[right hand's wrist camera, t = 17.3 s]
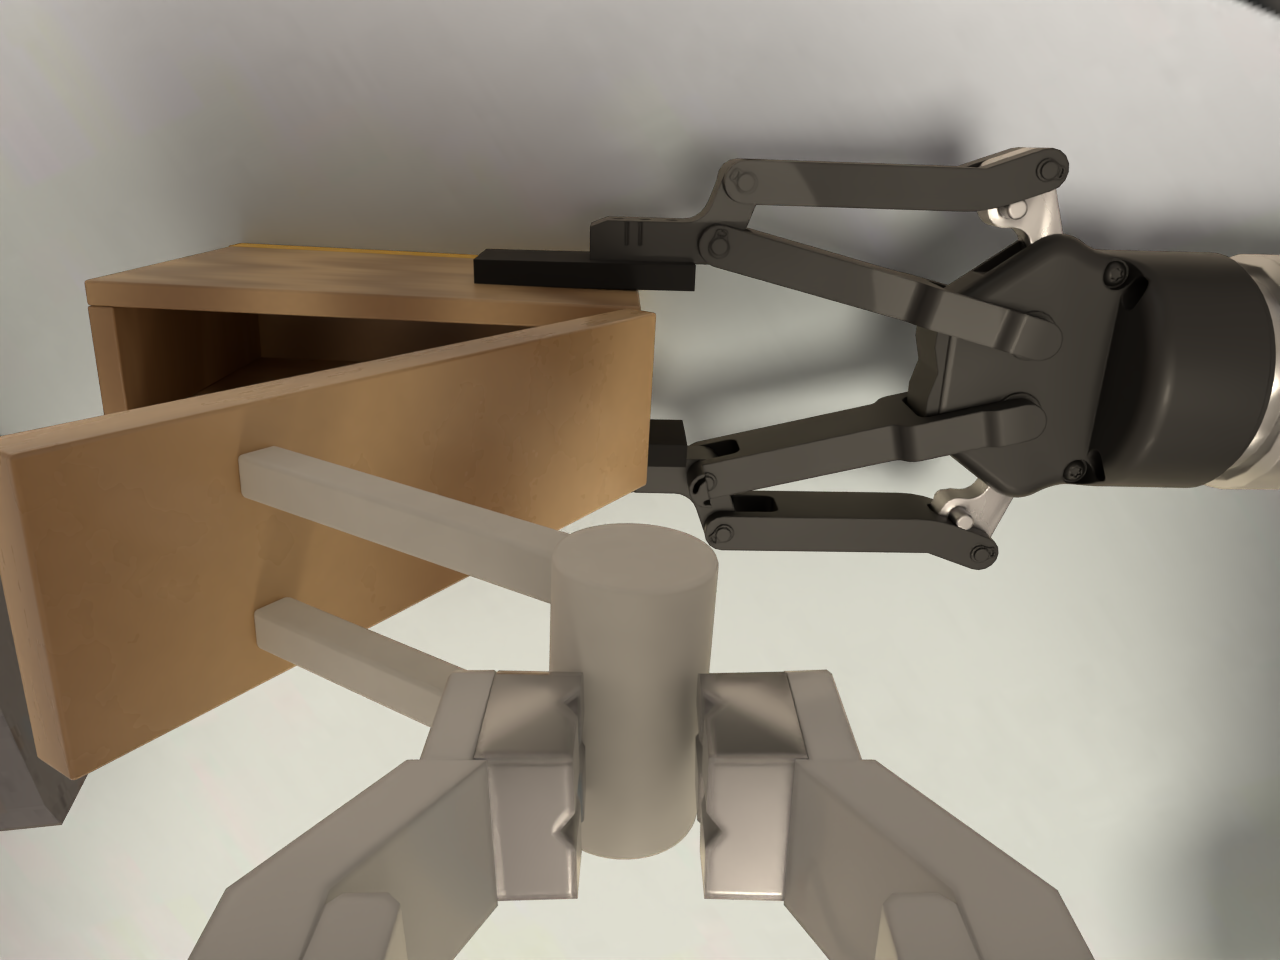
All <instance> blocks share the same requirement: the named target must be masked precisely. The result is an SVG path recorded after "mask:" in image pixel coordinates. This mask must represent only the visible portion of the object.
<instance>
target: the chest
mask: <svg viewBox="0 0 1280 960" xmlns="http://www.w3.org/2000/svg"><path fill="white" fill-rule="evenodd" d="M477 256H478V255H468V254H448V253H428V252H408V251H388V250H368V249H348V248H328V247H308V246H289V245H269V244H249V243H239V244H235V245H230V246H229V247H226V248H221V249H217V250H213V251H209V252H204V253H200V254H196V255H192V256H187V257H183V258H179V259H175V260H170V261H166V262H162V263H157V264H153V265H149V266H145V267H140V268H136V269H132V270H128V271H123V272H119V273H115V274H111V275H106V276H102V277H98V278H93V279H89V280H86V281H85V289H86V296H87V302H88V304H89V305H91V306H89V307H88V311H89V318H90V325H91V331H92V338H93V344H94V351H95V358H96V364H97V371H98V377H99V384H100V390H101V397H102V404H103V410H104V415H108V414H112V413H117V412H122V411H127V410H132V409H137V408H142V407H147V406H152V405H157V404H161V403H166V402H171V401H176V400H181V399H186V398H191V397H196V396H201V395H206V394H211V393H215V392H220V391H225V390H230V389H235V388H240V387H245V386H250V385H255V384H260V383H265V382H269V381H274V380H279V379H284V378H289V377H294V376H299V375H304V374H309V373H314V372H318V371H323V370H328V369H333V368H338V367H343V366H348V365H353V364H358V363H363V362H368V361H372V360H377V359H382V358H387V357H392V356H397V355H402V354H407V353H412V352H417V351H421V350H426V349H431V348H436V347H441V346H446V345H451V344H456V343H461V342H466V341H471V340H475V339H480V338H485V337H490V336H495V335H500V334H505V333H510V332H515V331H520V330H524V329H529V328H534V327H539V326H544V325H549V324H554V323H559V322H564V321H569V320H574V319H578V318H583V317H588V316H593V315H598V314H603V313H608V312H613V311H618V310H623V309H633V310H640V311H641V307H640V300H639V293H638V290H630V289H592V288H554V287H534V286H514V285H494V284H474V266H473V259H474V258H476V257H477Z"/></svg>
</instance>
